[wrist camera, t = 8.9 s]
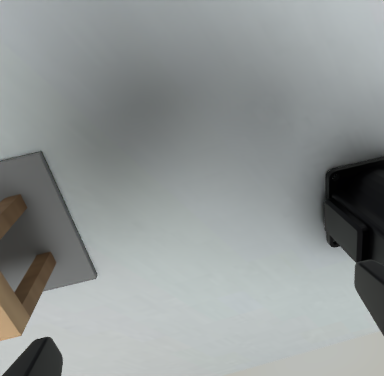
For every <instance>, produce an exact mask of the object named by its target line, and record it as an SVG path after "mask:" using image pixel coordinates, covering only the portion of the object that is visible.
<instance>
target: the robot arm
mask: <svg viewBox="0 0 384 376" xmlns="http://www.w3.org/2000/svg"><path fill="white" fill-rule="evenodd" d="M335 174H337V175H336V177H335V178H333V176H334V175H335ZM332 178H333V179H332ZM324 217H325V231H326V232H327V242H328V243H329V245H330V246H331V247H339V246H341V247H342V248H343V250H344V251H345V252H346V253H347V254H348V255H349V256H350V257H351V258H352V259H353V260H354V261H355V262H356V265H355V280H354V284H355V288H356V291H357V292H358V294H359V296H360V297H361V299H362V301H363V302H364V304H365V306H366V307H367V309H368V311H369V312H370V314H371V316H372V317H373V319H374V321H375V322H376V324H377V326H378V327H379V329H380V331H381V332H382V334H383V335H384V157H381V158H377V159H372V160H368V161H364V162H360V163H356V164H351V165H347V166H343V167H339V168H335V169H332V170H330V171H329V172H328V173H327V174H326V200H325V202H324ZM334 240H335V241H334ZM333 241H334V242H333ZM62 365H63V358H62V354H61V352H60V351H59V349H58V348H57V346H56V344H55V343H54V341H53V339H52V338H50V337H44V338H40V339H36V340H34V341H33V342H32V343H31V344H30V345H29V346H28V348H27V349H26V350H25V351H24V352H23V353H22V354H21V355H20V356H19V357H18V359H17V360H16V361H15V362H14V363H13V364H12V365H11V366H10V367H9V369H8V370H7V371H6V372H5V373H4V374H3V375H2V376H61V372H62Z"/></svg>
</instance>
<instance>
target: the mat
mask: <svg viewBox="0 0 384 376" xmlns="http://www.w3.org/2000/svg"><path fill="white" fill-rule="evenodd" d="M19 194H21V196H22V198H23V200H24V202H25V204H26V206H27V209H26V210H25V211H24V212H23V214H22V215H21V216H20V217H19V218H18V219H17V221H16V222H15V223H14V224H13V225H12V227H11V228H10V229H9V230H8V231H7V232H6V234H5V235H4V236H3V237H2V238H1V240H0V271H1V273H2V274H3V276H4V277H5V279H6V280H7V282H8V283H9V285H10V287H11V288H12V290H13V291H14V292H15V290H16V289H17V287H18V285H19V284H20V282H21V280H22V279H23V277H24V275H25V274H26V272H27V270H28V269H29V267H30V265H31V264H32V262H33V260H34V259H35V257H36V255H39V254H43V253H47V252H51V253H52V255H53V257H54V259H55V261H56V265H55V267H54V269H53V271H52V273H51V275H50V277H49V279H48V282H47V284H46V286H45V288H44V290H43V291H47V290H51V289H55V288H60V287H64V286H68V285H72V284H76V283H80V282H85V281H89V280H93V279H96V278H97V273H96V271H95V269H94V267H93V264H92V262H91V260H90V258H89V256H88V253H87V251H86V249H85V247H84V245H83V242H82V240H81V238H80V236H79V234H78V231H77V229H76V227H75V225H74V223H73V220H72V218H71V216H70V214H69V212H68V209H67V207H66V205H65V203H64V201H63V198H62V196H61V194H60V192H59V190H58V187H57V185H56V183H55V181H54V179H53V176H52V174H51V172H50V170H49V167H48V165H47V163H46V161H45V159H44V156H43V154H42V152H41V151H40V152H36V153H32V154H28V155H24V156H19V157H15V158H11V159H7V160H2V161H0V202H1V201H2V200H3V199H4V198H7V197H11V196H15V195H19Z"/></svg>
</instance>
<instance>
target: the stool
mask: <svg viewBox="0 0 384 376" xmlns="http://www.w3.org/2000/svg"><path fill="white" fill-rule="evenodd" d="M26 209H27V206H26V204H25V202H24V200H23V198H22V196H21V194H19V195H15V196H11V197H7V198H4V199H3V200H2V201H1V202H0V240H1V238H2V237H3V236H4V235H5V234H6V232H7V231H8V230H9V229H10V228H11V227H12V225H13V224H14V223H15V222H16V221H17V219H18V218H19V217H20V216H21V215H22V214H23V212H24V211H25V210H26ZM55 265H56V261H55V259H54V257H53V255H52V253H51V252H47V253H43V254H39V255H36V257H35V259H34V260H33V262H32V264H31V265H30V267H29V269H28V270H27V272H26V274H25V275H24V277H23V279H22V280H21V282H20V284H19V285H18V287H17V289H16V290H15V292H14V291H13V290H12V288H11V287H10V285H9V283H8V282H7V280H6V279H5V277H4V276H3V274H2V273H1V271H0V341H2V340H6V339H10V338H14V337H18V336H21V335H22V333H23V331H24V329H25V327H26V325H27V323H28V321H29V319H30V317H31V315H32V313H33V310H34V308H35V306H36V304H37V302H38V300H39V298H40V296H41V294H42V292H43V290H44V288H45V286H46V284H47V282H48V279H49V277H50V275H51V273H52V271H53V269H54V267H55Z"/></svg>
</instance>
